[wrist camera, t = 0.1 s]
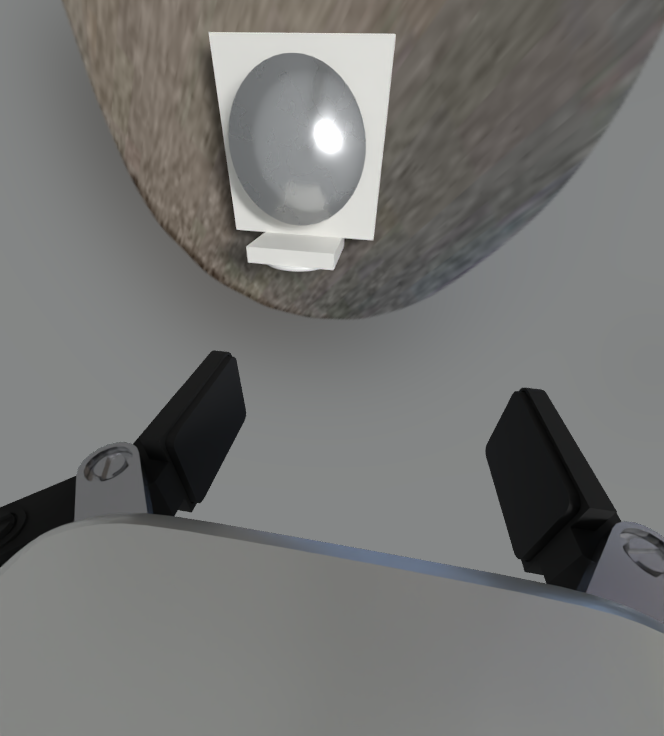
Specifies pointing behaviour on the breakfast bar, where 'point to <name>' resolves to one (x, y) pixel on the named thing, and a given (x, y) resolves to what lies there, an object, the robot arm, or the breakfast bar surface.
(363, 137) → the kitchen scale
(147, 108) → the breakfast bar surface
